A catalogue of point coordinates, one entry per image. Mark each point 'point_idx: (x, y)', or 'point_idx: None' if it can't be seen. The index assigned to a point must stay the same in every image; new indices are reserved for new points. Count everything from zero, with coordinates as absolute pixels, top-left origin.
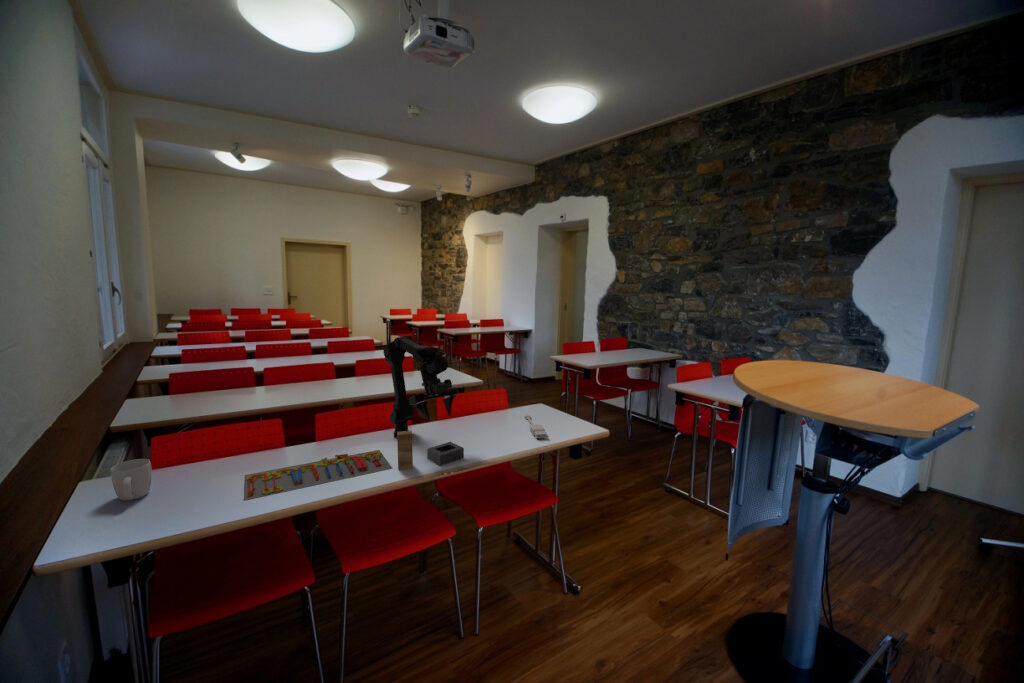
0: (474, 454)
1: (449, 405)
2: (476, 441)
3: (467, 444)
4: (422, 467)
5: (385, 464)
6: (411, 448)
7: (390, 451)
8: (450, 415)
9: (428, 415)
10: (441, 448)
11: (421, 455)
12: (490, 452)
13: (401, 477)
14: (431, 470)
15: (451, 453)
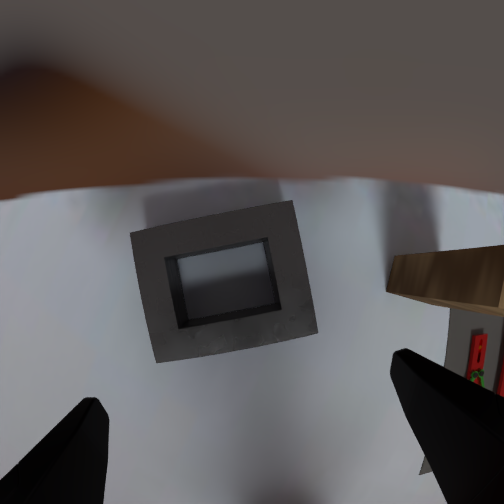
0: (89, 251)
1: (34, 482)
2: (34, 376)
3: (73, 374)
4: (358, 242)
5: (458, 342)
6: (450, 252)
7: (397, 455)
8: (89, 398)
9: (435, 377)
10: (234, 317)
11: (313, 373)
12: (32, 234)
13: (444, 201)
14: (334, 192)
15: (216, 215)
